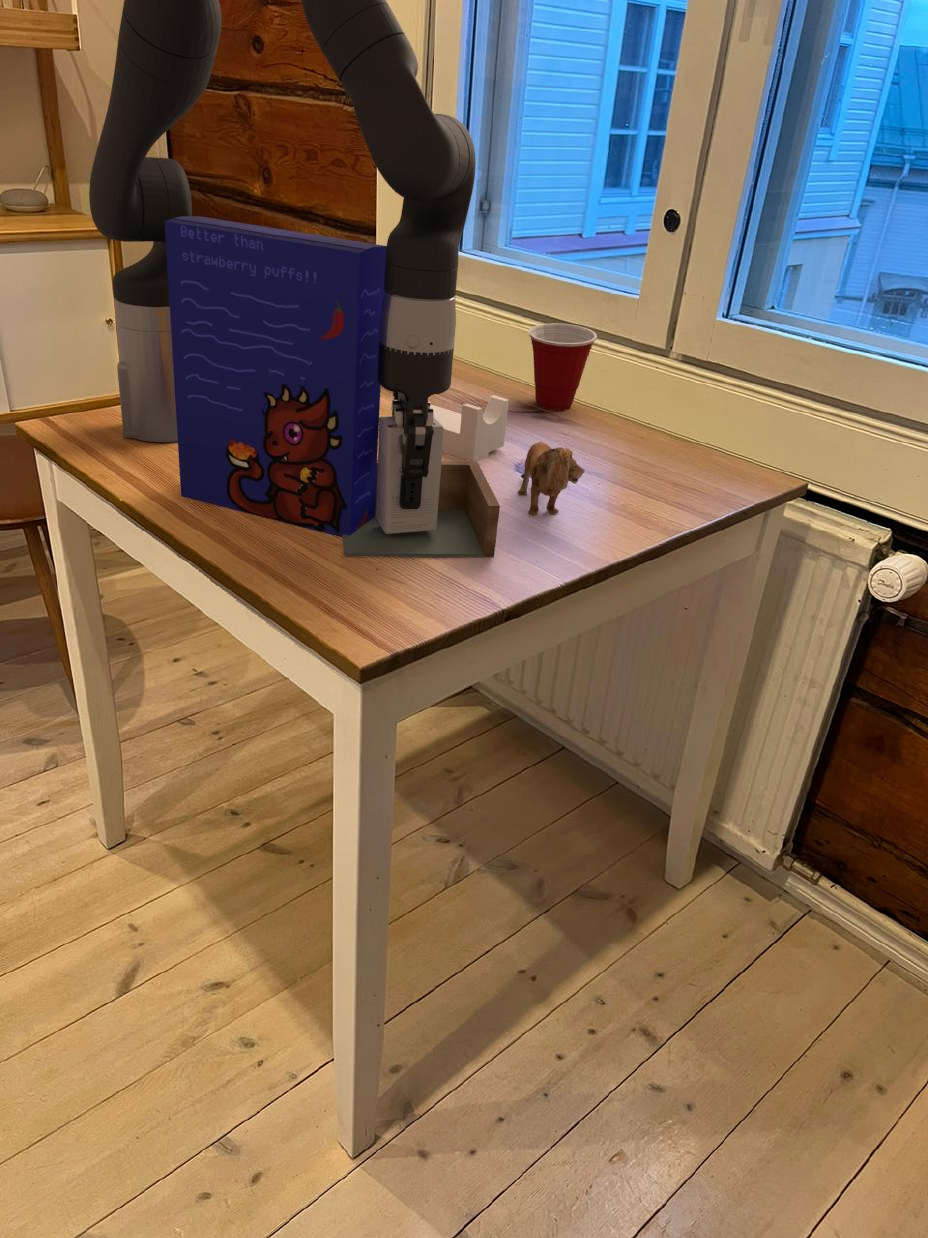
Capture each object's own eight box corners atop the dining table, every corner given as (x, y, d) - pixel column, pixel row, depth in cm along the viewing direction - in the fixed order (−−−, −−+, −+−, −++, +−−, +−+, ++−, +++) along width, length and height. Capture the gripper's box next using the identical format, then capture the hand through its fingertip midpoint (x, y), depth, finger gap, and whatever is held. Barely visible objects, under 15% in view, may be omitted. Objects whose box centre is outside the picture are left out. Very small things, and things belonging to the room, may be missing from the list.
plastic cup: (506, 404, 151) (515, 328, 145) (540, 391, 159) (550, 319, 153) (565, 420, 146) (576, 342, 140) (597, 407, 154) (609, 332, 148)
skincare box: (425, 516, 107) (433, 412, 101) (437, 533, 103) (446, 426, 97) (372, 519, 105) (377, 413, 99) (383, 536, 101) (389, 427, 95)
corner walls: (345, 556, 98) (346, 503, 95) (338, 507, 109) (339, 458, 106) (493, 557, 101) (499, 505, 98) (472, 508, 112) (477, 461, 109)
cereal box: (374, 522, 107) (387, 243, 93) (349, 541, 102) (360, 249, 88) (211, 481, 113) (200, 213, 99) (181, 497, 108) (164, 217, 94)
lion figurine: (579, 527, 111) (591, 454, 106) (537, 528, 109) (547, 454, 105) (539, 480, 123) (548, 413, 118) (500, 480, 121) (508, 413, 117)
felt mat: (345, 556, 98) (345, 553, 98) (338, 507, 109) (338, 503, 109) (493, 557, 101) (494, 553, 101) (472, 508, 112) (472, 505, 112)
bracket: (502, 452, 132) (508, 399, 128) (472, 464, 127) (478, 409, 123) (430, 428, 138) (434, 377, 134) (399, 438, 133) (402, 385, 129)
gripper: (465, 360, 88) (450, 526, 97) (443, 324, 100) (431, 474, 109) (386, 356, 87) (378, 525, 95) (373, 320, 99) (366, 473, 108)
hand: (406, 497), depth 102 cm, fingers closed on skincare box, 4 cm apart
